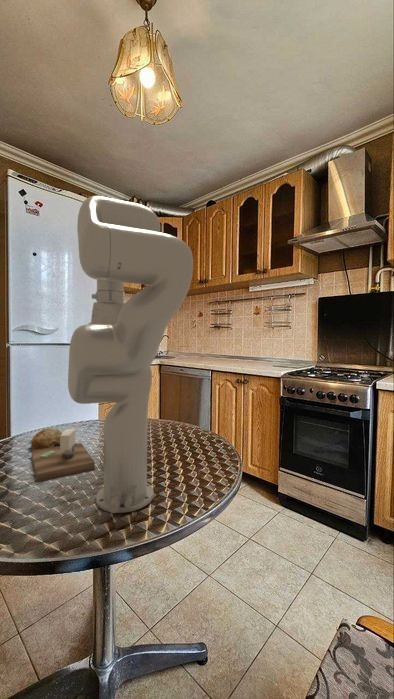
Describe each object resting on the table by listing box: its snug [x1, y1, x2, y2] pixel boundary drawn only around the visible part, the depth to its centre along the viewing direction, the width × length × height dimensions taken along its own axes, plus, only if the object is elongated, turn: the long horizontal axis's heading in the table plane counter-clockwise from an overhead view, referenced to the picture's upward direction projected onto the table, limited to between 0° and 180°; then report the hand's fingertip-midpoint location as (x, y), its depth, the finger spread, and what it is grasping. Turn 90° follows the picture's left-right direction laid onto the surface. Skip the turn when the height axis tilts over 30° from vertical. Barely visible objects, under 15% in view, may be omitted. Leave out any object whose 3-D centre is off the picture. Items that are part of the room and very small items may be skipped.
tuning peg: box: [60, 428, 78, 458], centre depth 87 cm, size 11×3×7 cm, turn 8°
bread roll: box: [29, 428, 63, 451], centre depth 97 cm, size 10×10×8 cm
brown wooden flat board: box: [31, 442, 96, 483], centre depth 86 cm, size 18×14×2 cm
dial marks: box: [40, 447, 76, 457], centre depth 89 cm, size 4×11×1 cm, turn 139°
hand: (110, 356), depth 88 cm, fingers open, 9 cm apart
